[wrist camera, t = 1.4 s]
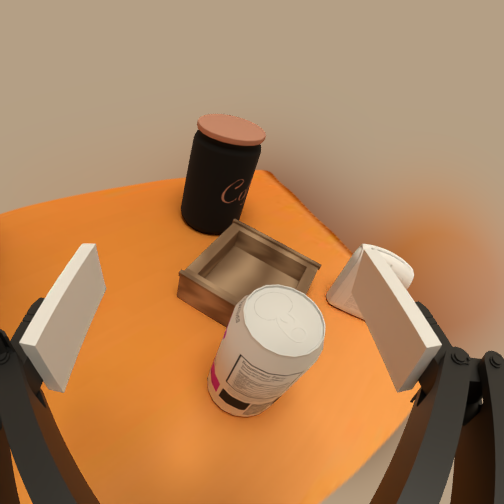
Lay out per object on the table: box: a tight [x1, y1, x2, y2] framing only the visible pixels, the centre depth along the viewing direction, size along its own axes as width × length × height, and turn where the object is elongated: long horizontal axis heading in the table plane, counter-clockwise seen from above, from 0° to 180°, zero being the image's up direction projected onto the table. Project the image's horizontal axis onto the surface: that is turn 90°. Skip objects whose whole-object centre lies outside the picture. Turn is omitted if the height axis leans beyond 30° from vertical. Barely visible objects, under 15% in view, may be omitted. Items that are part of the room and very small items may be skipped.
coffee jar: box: [181, 114, 266, 234], centre depth 49 cm, size 11×11×18 cm
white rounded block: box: [326, 244, 414, 320], centre depth 44 cm, size 10×4×12 cm, turn 71°
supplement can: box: [207, 285, 325, 417], centre depth 29 cm, size 8×8×15 cm
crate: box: [177, 219, 321, 327], centre depth 43 cm, size 15×15×5 cm
